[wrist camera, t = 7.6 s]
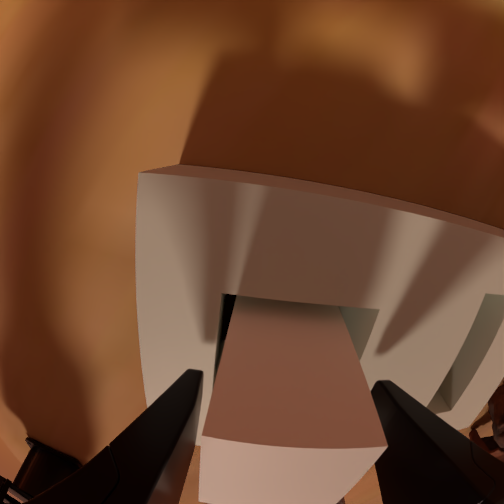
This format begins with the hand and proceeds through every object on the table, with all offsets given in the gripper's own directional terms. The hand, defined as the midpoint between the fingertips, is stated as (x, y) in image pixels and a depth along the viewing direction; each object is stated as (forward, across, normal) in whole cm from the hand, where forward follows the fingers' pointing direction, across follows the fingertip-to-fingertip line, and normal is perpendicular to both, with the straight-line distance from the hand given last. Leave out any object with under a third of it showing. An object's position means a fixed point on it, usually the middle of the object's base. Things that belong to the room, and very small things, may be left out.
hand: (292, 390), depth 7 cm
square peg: (+5, 0, 0) cm, 5 cm away
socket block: (+5, -4, 0) cm, 6 cm away
